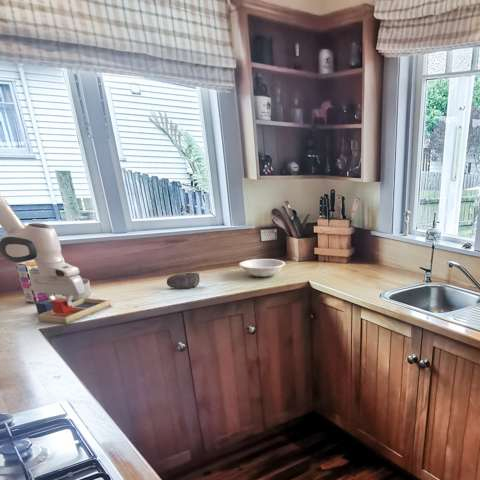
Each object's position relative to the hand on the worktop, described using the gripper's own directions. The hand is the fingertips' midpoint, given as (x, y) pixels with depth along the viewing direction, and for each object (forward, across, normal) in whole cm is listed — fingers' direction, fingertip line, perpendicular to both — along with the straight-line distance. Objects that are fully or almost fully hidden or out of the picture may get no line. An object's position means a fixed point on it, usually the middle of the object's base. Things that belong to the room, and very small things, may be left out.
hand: (62, 305), depth 178 cm
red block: (+2, 0, 0) cm, 2 cm away
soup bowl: (+6, +45, +86) cm, 97 cm away
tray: (+5, 0, +6) cm, 8 cm away
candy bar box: (+5, -28, +18) cm, 34 cm away
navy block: (+5, -11, +3) cm, 13 cm away
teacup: (+5, -15, +22) cm, 27 cm away
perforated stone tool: (+6, +19, +52) cm, 56 cm away
